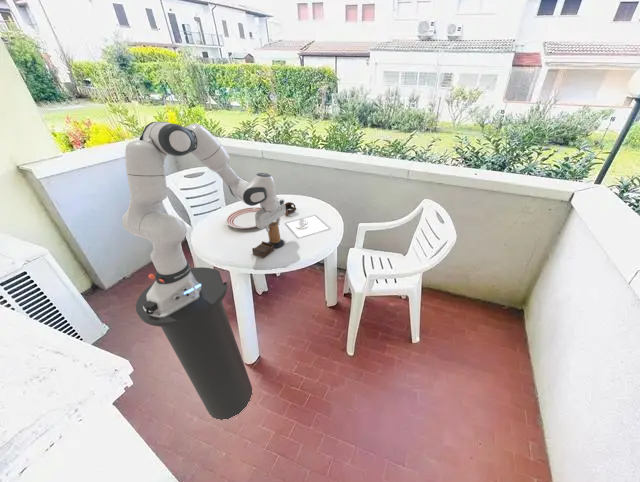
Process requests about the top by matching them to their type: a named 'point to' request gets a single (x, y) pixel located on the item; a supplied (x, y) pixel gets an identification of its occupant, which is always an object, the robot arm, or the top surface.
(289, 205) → the brown openwork ring figurine
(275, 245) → the coaster
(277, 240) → the paper roll
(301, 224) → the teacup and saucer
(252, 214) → the dinner plate
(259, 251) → the roll stand
